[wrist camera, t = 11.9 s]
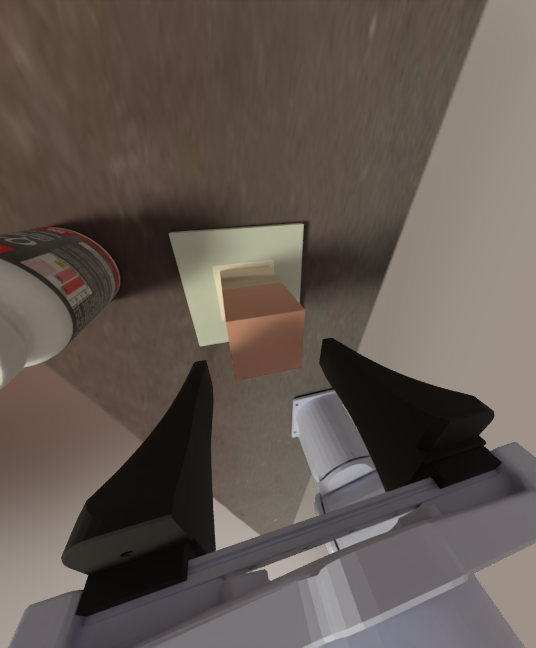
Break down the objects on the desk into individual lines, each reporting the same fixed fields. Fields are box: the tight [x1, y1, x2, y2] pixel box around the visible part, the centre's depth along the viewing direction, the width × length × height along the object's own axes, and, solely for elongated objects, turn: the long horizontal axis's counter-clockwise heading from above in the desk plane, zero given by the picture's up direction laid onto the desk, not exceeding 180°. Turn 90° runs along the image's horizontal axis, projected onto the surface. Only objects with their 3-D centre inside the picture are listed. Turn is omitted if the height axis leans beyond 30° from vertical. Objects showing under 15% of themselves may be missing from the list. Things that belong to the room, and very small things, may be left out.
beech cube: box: [220, 266, 282, 290], centre depth 16 cm, size 4×4×4 cm
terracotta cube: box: [222, 283, 305, 381], centre depth 13 cm, size 4×4×4 cm
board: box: [169, 223, 304, 346], centre depth 18 cm, size 10×10×1 cm
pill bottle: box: [0, 227, 120, 389], centre depth 10 cm, size 6×6×10 cm
